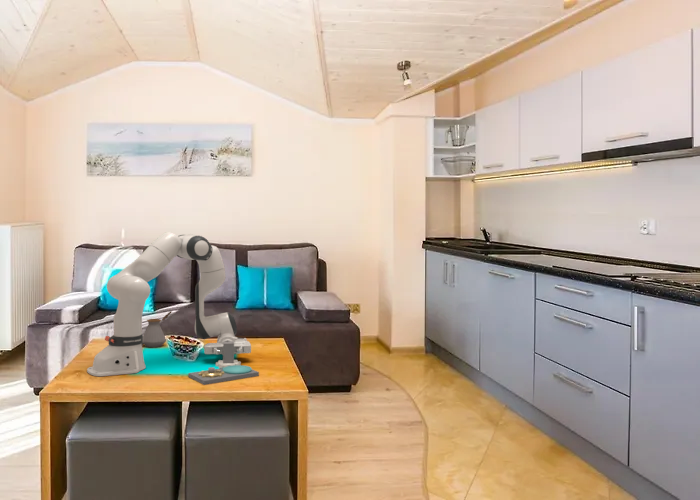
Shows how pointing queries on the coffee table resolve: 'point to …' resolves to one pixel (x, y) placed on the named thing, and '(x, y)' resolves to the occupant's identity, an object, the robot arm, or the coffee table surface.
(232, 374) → the gear board
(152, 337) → the coffee pot
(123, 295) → the robot arm
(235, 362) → the loose gear
